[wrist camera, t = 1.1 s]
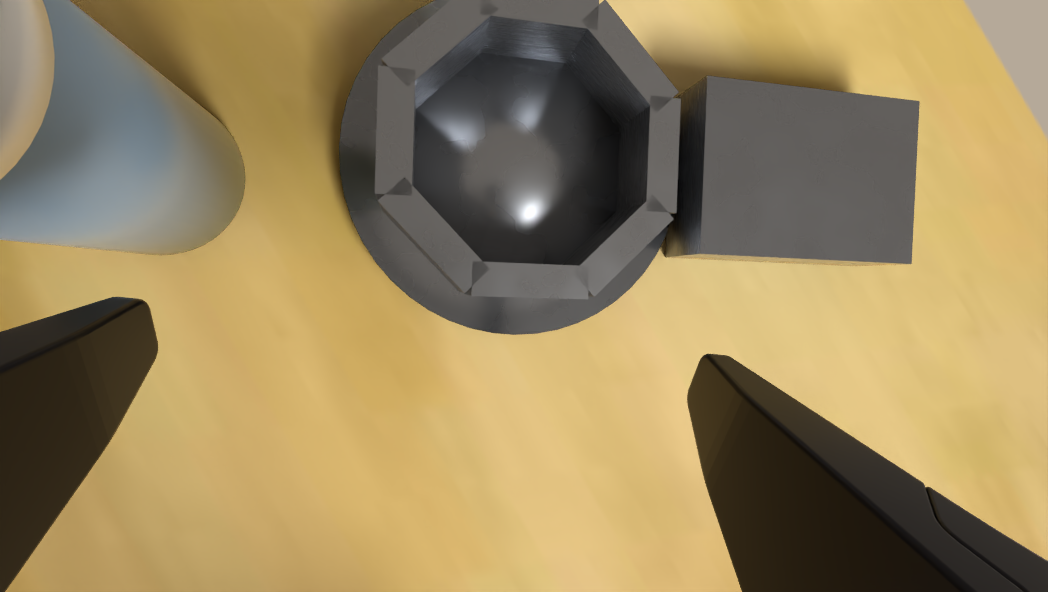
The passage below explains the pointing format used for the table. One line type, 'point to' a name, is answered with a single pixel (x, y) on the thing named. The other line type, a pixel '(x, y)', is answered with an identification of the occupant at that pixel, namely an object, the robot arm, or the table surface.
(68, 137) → the duct elbow
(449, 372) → the table surface
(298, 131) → the table surface
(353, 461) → the table surface
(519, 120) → the duct collar
